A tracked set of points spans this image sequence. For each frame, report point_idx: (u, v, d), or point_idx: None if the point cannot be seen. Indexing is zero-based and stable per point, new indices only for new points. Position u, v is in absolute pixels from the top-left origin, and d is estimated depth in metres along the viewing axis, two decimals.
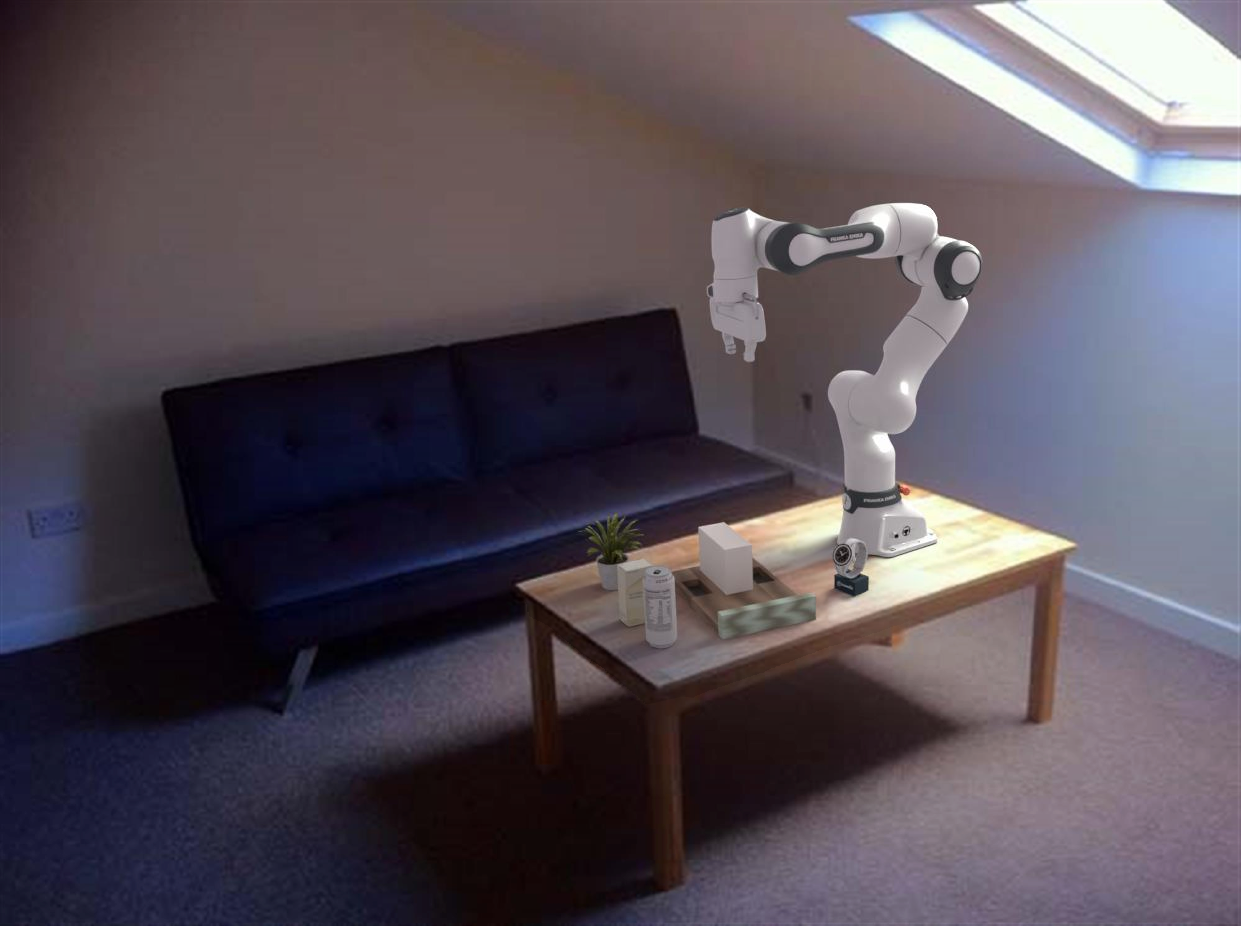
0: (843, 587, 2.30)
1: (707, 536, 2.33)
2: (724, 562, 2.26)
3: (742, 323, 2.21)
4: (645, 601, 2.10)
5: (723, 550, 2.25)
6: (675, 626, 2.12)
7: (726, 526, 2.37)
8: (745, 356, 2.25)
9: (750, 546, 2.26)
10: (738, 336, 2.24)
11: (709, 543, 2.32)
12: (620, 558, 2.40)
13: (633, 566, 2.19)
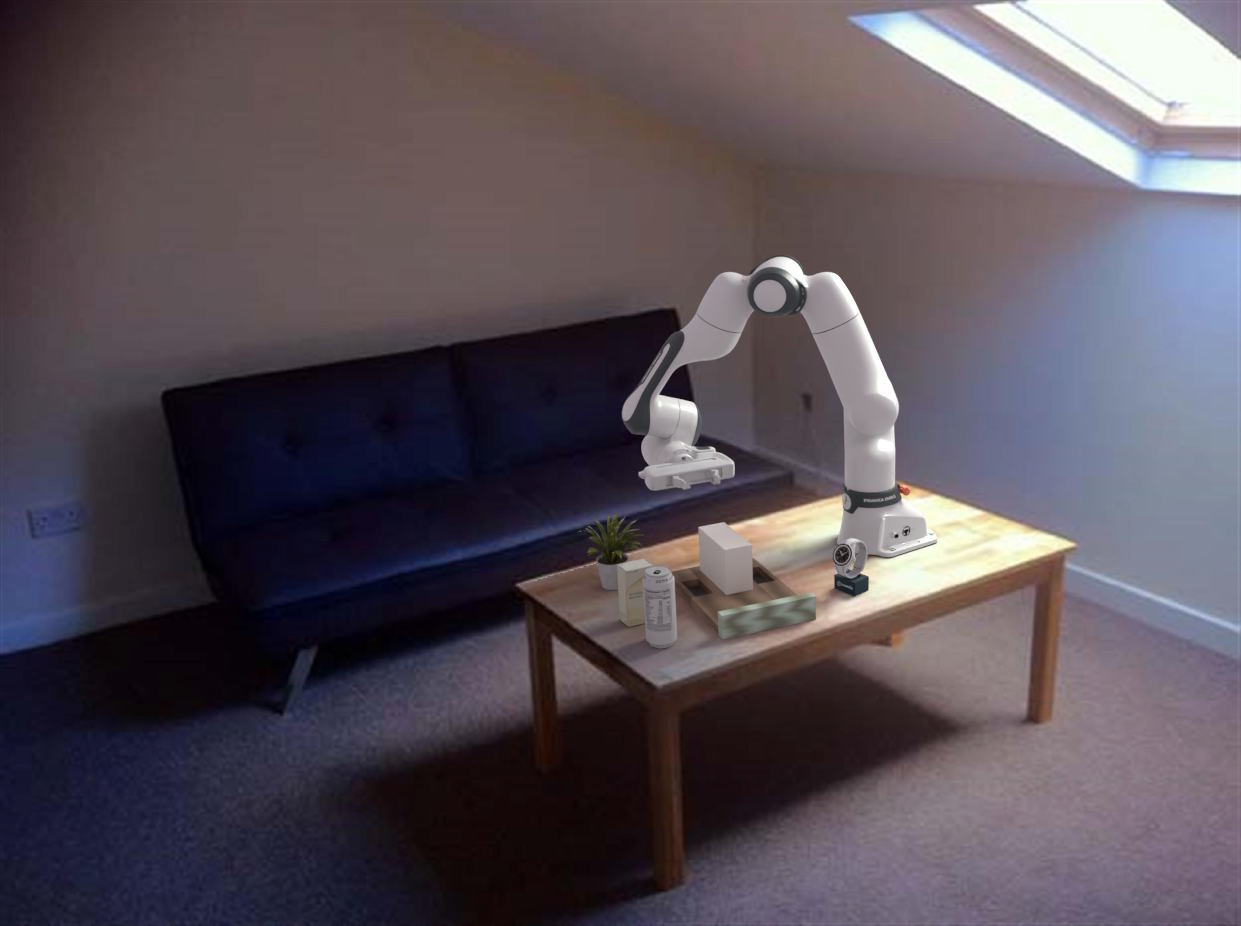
0: (843, 587, 2.30)
1: (707, 536, 2.33)
2: (724, 562, 2.26)
3: None
4: (645, 601, 2.10)
5: (723, 550, 2.25)
6: (675, 626, 2.12)
7: (726, 526, 2.37)
8: None
9: (750, 546, 2.26)
10: None
11: (709, 543, 2.32)
12: (620, 558, 2.40)
13: (633, 566, 2.19)
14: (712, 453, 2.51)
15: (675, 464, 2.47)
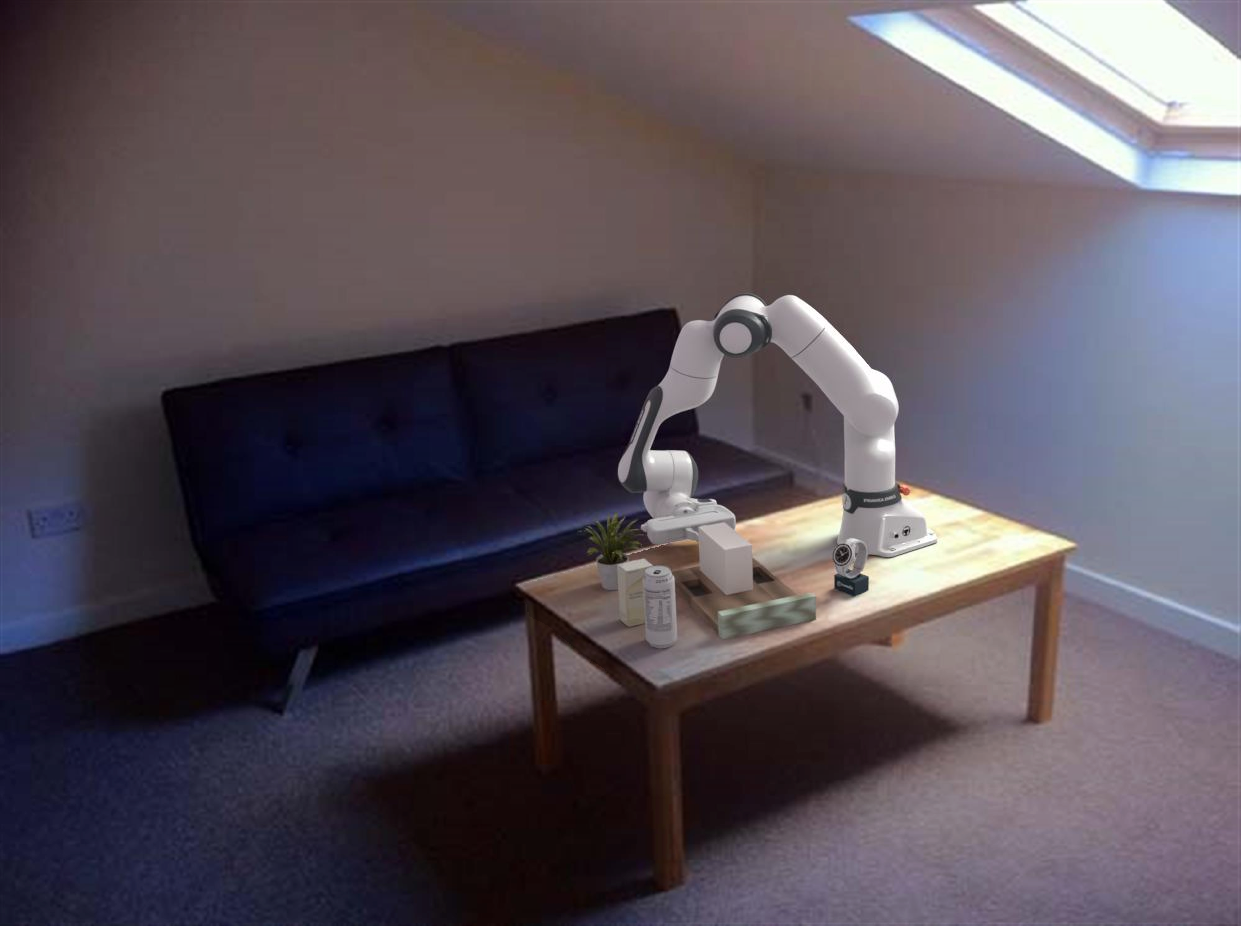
0: (843, 587, 2.30)
1: (707, 536, 2.33)
2: (724, 562, 2.26)
3: None
4: (645, 601, 2.10)
5: (723, 550, 2.25)
6: (675, 626, 2.12)
7: (726, 526, 2.37)
8: None
9: (750, 546, 2.26)
10: None
11: (709, 543, 2.32)
12: (620, 558, 2.40)
13: (633, 566, 2.19)
14: (713, 506, 2.55)
15: (677, 517, 2.51)
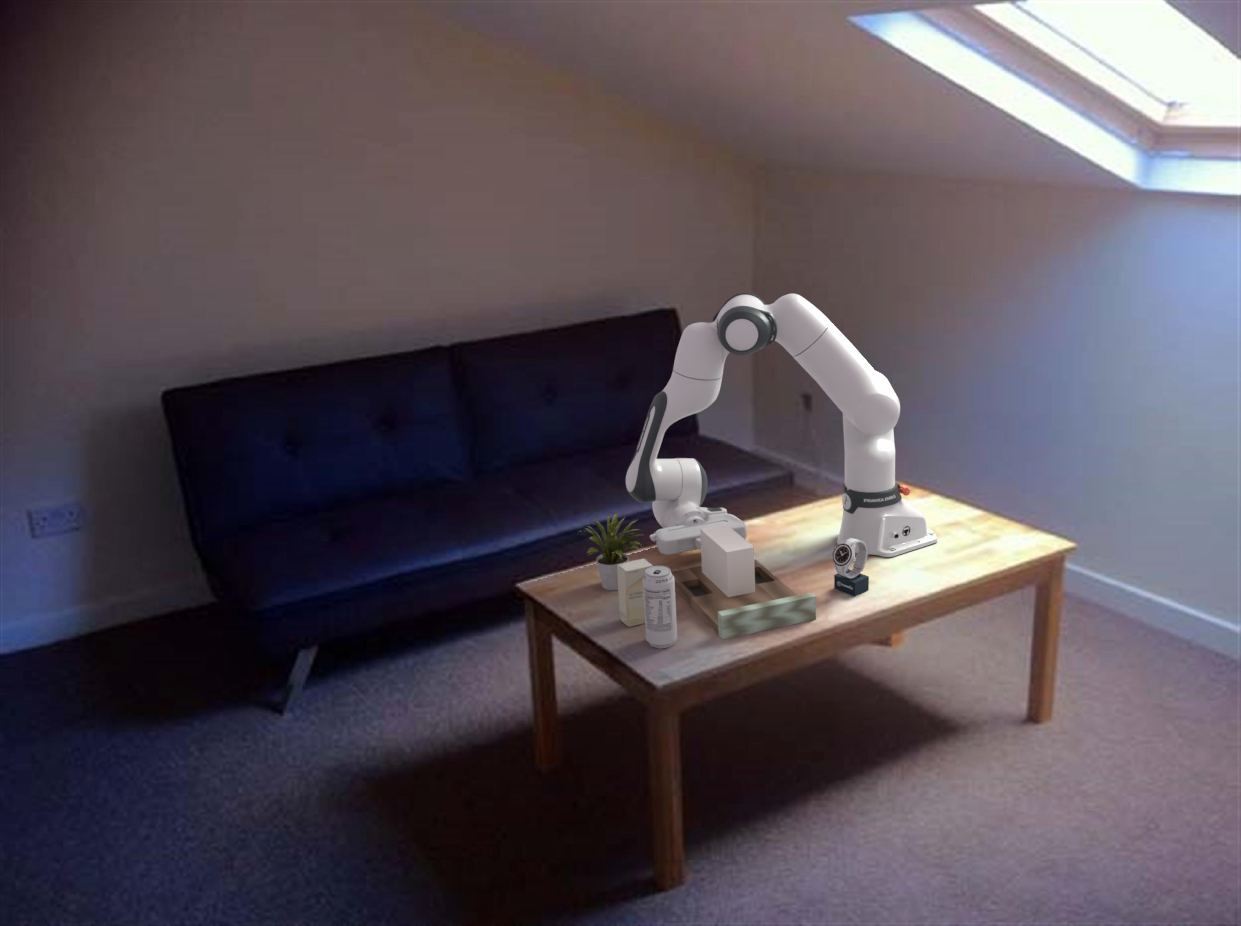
0: (843, 587, 2.30)
1: (709, 538, 2.32)
2: (726, 564, 2.25)
3: None
4: (645, 601, 2.10)
5: (725, 552, 2.24)
6: (675, 626, 2.12)
7: (728, 528, 2.35)
8: None
9: (752, 548, 2.25)
10: None
11: (711, 545, 2.31)
12: (620, 558, 2.40)
13: (633, 566, 2.19)
14: (724, 515, 2.50)
15: (687, 527, 2.47)
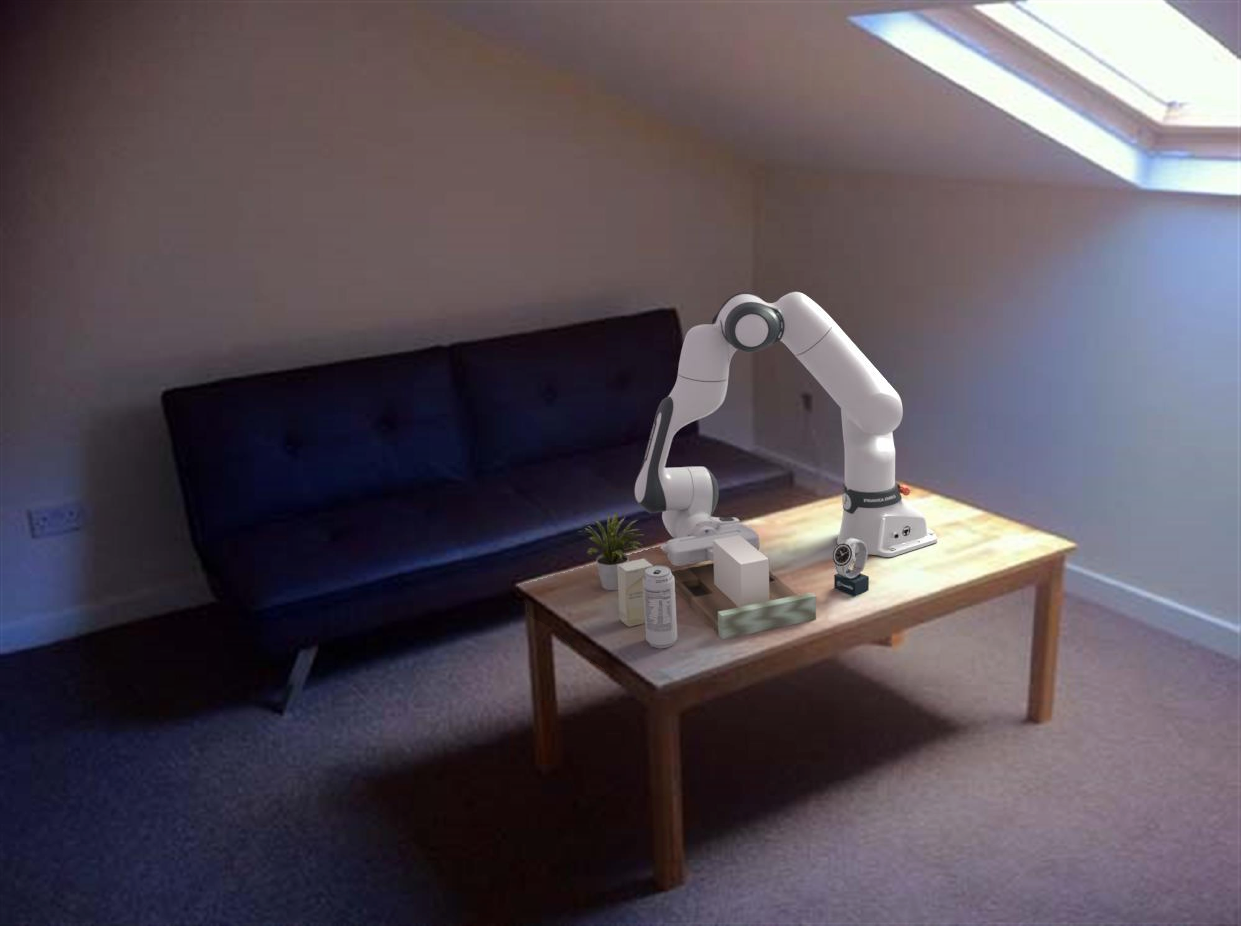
0: (843, 587, 2.30)
1: (722, 550, 2.26)
2: (740, 577, 2.19)
3: None
4: (645, 601, 2.10)
5: (739, 565, 2.18)
6: (675, 626, 2.12)
7: (741, 539, 2.29)
8: None
9: (767, 560, 2.19)
10: None
11: (724, 557, 2.25)
12: (620, 558, 2.40)
13: (633, 566, 2.19)
14: (736, 525, 2.44)
15: (698, 537, 2.40)
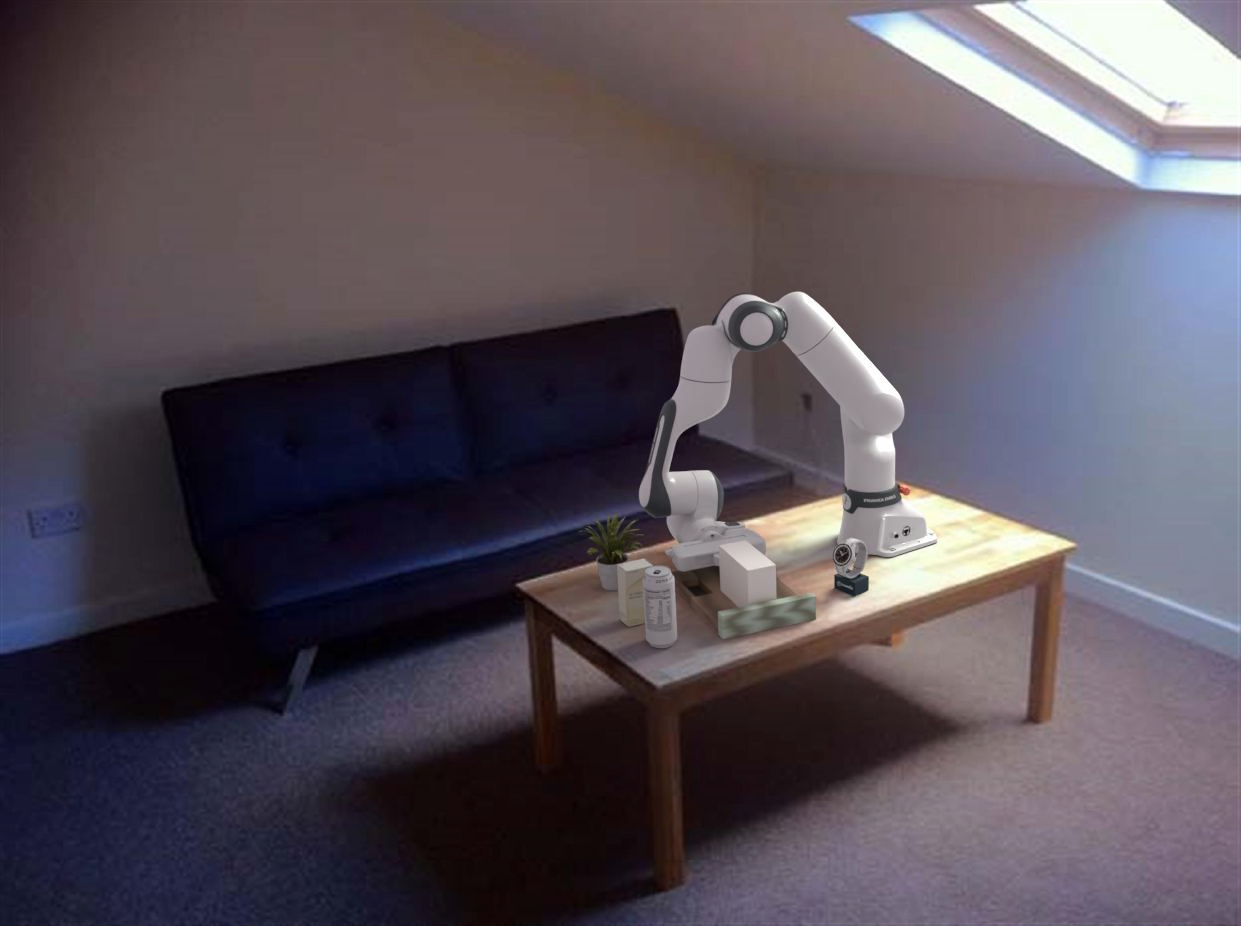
0: (843, 587, 2.30)
1: (728, 555, 2.23)
2: (747, 583, 2.16)
3: None
4: (645, 601, 2.10)
5: (746, 571, 2.15)
6: (675, 626, 2.12)
7: (748, 544, 2.26)
8: None
9: (774, 566, 2.16)
10: None
11: (730, 562, 2.22)
12: (620, 558, 2.40)
13: (633, 566, 2.19)
14: (742, 529, 2.41)
15: (704, 542, 2.38)
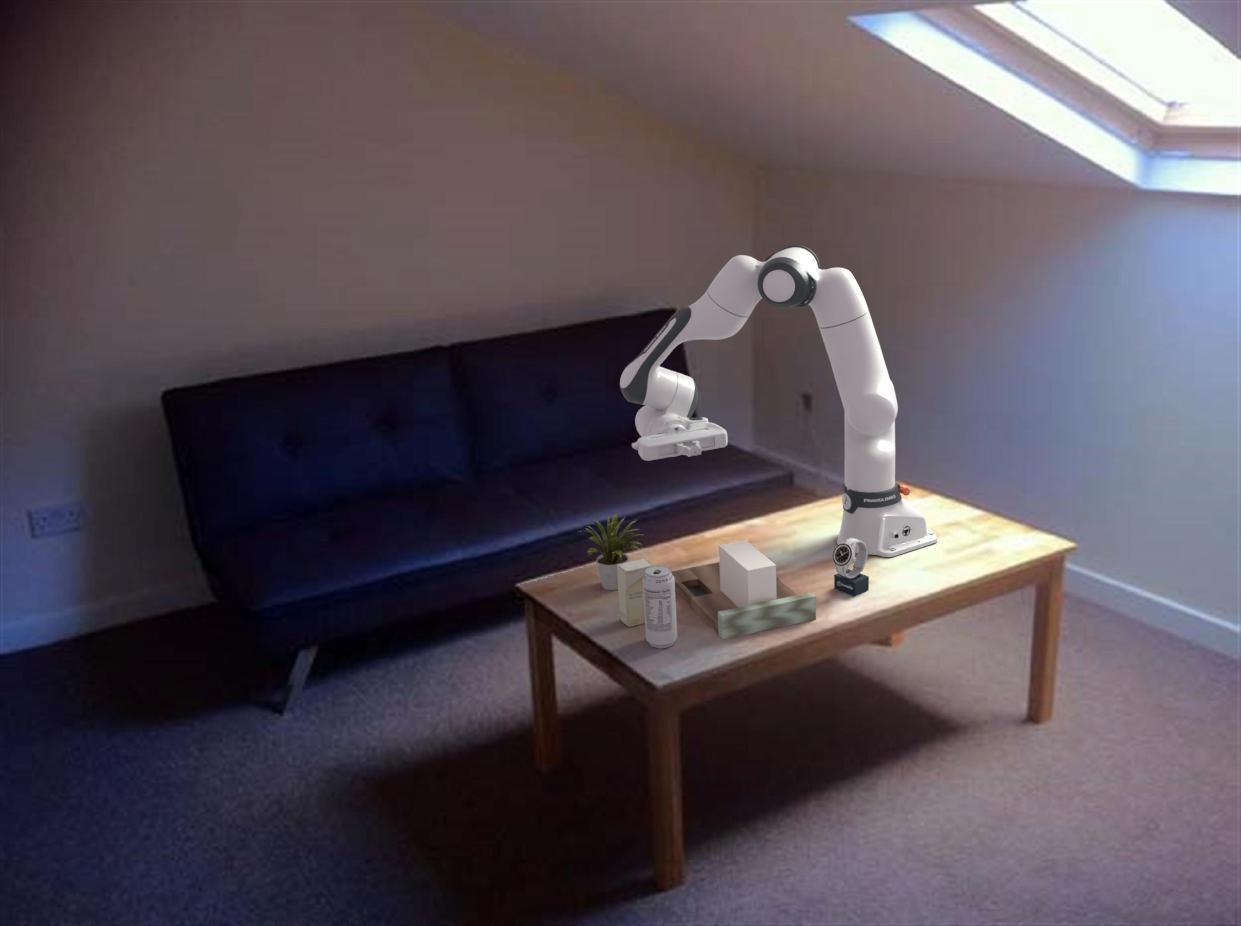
0: (843, 587, 2.30)
1: (728, 555, 2.23)
2: (747, 583, 2.16)
3: None
4: (645, 601, 2.10)
5: (746, 571, 2.15)
6: (675, 626, 2.12)
7: (748, 545, 2.26)
8: None
9: (774, 566, 2.16)
10: (669, 456, 2.45)
11: (730, 562, 2.22)
12: (620, 558, 2.40)
13: (633, 566, 2.19)
14: (705, 423, 2.52)
15: (668, 435, 2.49)
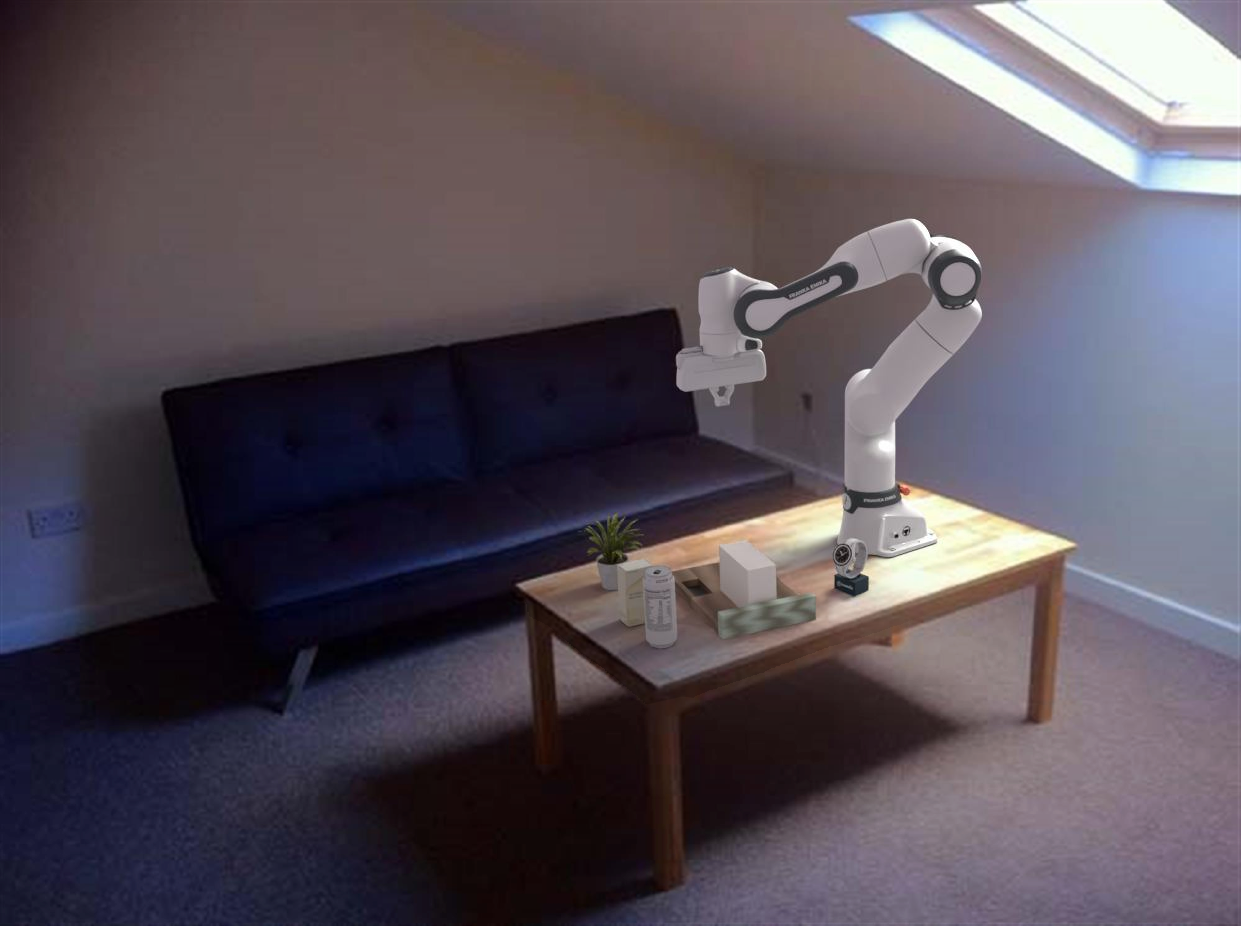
0: (843, 587, 2.30)
1: (728, 555, 2.23)
2: (747, 583, 2.16)
3: None
4: (645, 601, 2.10)
5: (746, 571, 2.15)
6: (675, 626, 2.12)
7: (748, 545, 2.26)
8: None
9: (774, 566, 2.16)
10: None
11: (730, 562, 2.22)
12: (620, 558, 2.40)
13: (633, 566, 2.19)
14: (755, 354, 2.42)
15: (714, 363, 2.40)
